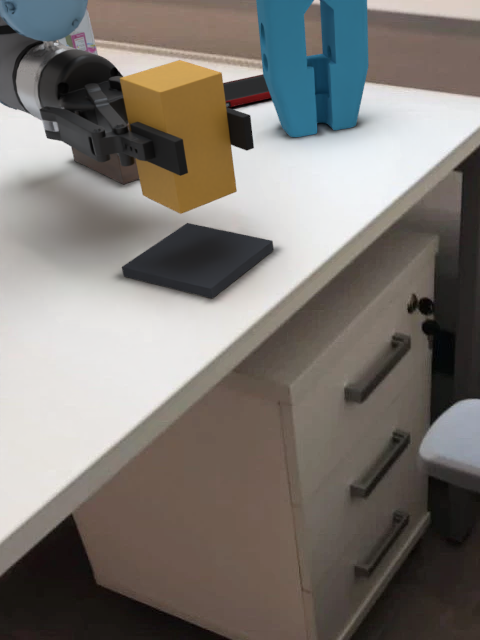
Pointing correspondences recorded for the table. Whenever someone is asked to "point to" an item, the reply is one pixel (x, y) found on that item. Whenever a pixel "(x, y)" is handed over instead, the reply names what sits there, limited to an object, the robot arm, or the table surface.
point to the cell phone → (246, 90)
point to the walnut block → (109, 166)
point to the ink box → (81, 36)
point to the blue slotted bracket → (314, 63)
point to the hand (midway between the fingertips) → (215, 145)
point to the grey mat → (198, 259)
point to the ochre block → (183, 132)
